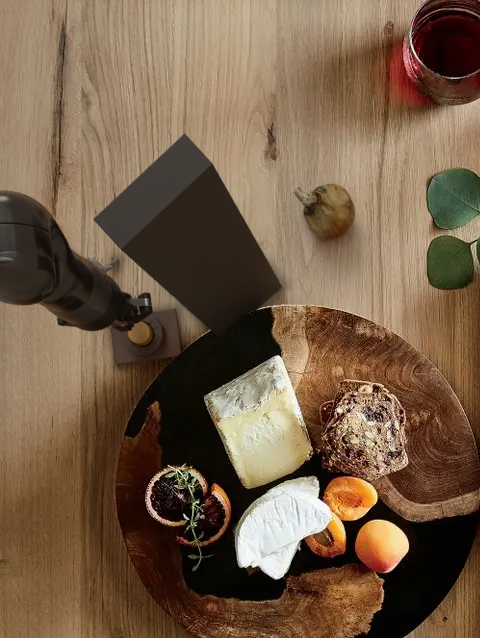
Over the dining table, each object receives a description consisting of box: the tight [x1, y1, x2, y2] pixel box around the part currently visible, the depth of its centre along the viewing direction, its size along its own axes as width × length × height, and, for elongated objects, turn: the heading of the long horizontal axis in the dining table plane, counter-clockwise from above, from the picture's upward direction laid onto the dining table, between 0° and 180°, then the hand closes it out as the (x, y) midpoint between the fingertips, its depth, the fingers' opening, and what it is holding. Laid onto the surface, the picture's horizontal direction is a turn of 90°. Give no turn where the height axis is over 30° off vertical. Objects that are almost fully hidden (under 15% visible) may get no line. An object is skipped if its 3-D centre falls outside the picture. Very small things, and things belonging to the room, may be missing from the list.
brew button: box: [128, 322, 153, 345], centre depth 120 cm, size 3×3×2 cm
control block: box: [109, 308, 183, 366], centre depth 121 cm, size 10×7×2 cm
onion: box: [293, 183, 356, 242], centre depth 118 cm, size 8×8×8 cm
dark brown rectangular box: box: [92, 133, 283, 338], centre depth 100 cm, size 16×12×44 cm
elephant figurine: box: [87, 254, 120, 275], centre depth 120 cm, size 10×6×9 cm
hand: (126, 324), depth 114 cm, fingers closed
